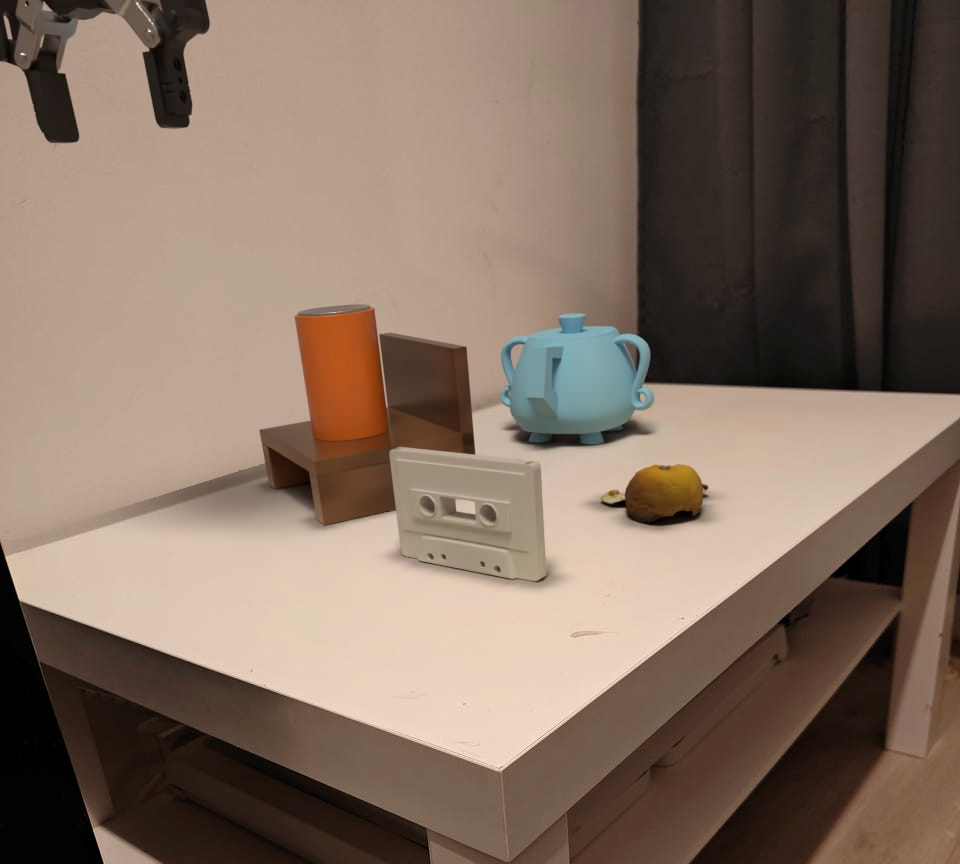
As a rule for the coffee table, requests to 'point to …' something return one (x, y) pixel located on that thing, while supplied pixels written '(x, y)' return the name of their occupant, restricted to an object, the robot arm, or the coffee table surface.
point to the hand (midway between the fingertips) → (117, 135)
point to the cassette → (463, 536)
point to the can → (342, 372)
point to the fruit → (660, 492)
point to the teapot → (575, 380)
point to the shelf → (366, 462)
